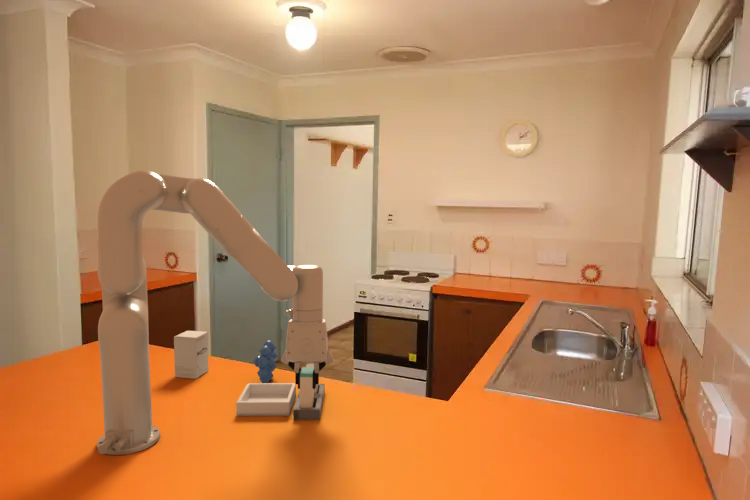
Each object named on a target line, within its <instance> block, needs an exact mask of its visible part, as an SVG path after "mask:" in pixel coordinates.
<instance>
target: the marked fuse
mask: <svg viewBox="0 0 750 500" xmlns="http://www.w3.org/2000/svg"><path fill="white" fill-rule="evenodd" d="M313 370H314V367H306V366H305V367H304V366H303V367H302V368H301V373H300V389H299V390H300V408H312V407H313V403H314V389H313ZM313 408H314V407H313Z"/></svg>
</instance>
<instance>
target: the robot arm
mask: <svg viewBox="0 0 750 500" xmlns="http://www.w3.org/2000/svg"><path fill="white" fill-rule="evenodd" d="M97 211H98V213H97V255H98V256H97V259H98V260H97V261H98V262H97V263H98V264H97V265H98V266H97V278H98V281H99V284H100V286H101V298H102V299H101V300H102V312H101V314H100V316H99V319H98V324H97V337H98V338H97V341H98V346H99V358H100V359H99V360H100V372H101V373H100V376H101V388H102V389H101V390H102V406H103V410H102V411H103V424H104V425H103V426H104V427H103V428H104V429H103V430H104V434H102V435H101V436H100V437H99V438H98V439H97V442H96V448H97V452H98V453H99V454H100V455H111V456H113V455H114V456H118V455H120V456H122V455H129V454H134V453H137V452H140V451H144V450H146V449H148V448H150V447H152V446H154V445H155V444H156V443H157V442H158V441H159V440H160V438H161V430H160V429H159V428H158V427H157V426H154V425H153V416H152V415H153V414H152V413H153V411H152V410H153V409H152V408H153V407H152V389H151V387H152V386H151V370H150V369H151V368H150V367H151V365H150V364H151V363H150V344H149V342H150V341H149V340H150V339H149V338H150V337H149V302H148V300H149V299H148V279H147V278H148V275H147V273H148V271H147V263H146V260H145V258H144V252H143V250H144V249H143V219H144V217H145V215H146V213H147V212H148V211H162V212H168V213H170V212H171V213H180V214H189V215H191V216H192V218H194V220H196V222H197V223H198V224H199V225H200V226H201V227H202V228H203V230H204V231H206V232H207V234H208V235H209V236H210V237H211V238H212V240H214V241H215V242H216V243H217V245H218V246H219V247H220V248H221V249H222V250H223V251H224V252H225V253H226V254H227V255H228V256H229V257H231V258H232V259H233V260H234V261H236V262H237V263H238V264H239V265H240V266H241V267H242V268H243V269H244V270H245V271H246V272H247V273H248V274H249V275H250V277H252V279H254V280H255V282H256V283H257V284H258V285H259V287H260V289H261V290H262V291H263V292H264V293H265V294H266V295H268V297H270V298H271V299H272V300H274V301H277V302H287V301H289V300H291V309H286V310H285V316H288V317H290V318H291V319H289V320H288V324H287V330H286V337H285V338H286V340H285V341H286V343H285V350H284V353H283V355H281V358H280V362H281V363H283V364H285V365H287V366H288V367H289V368H291V370H293V372H294V374H295V378H294V379H295V381H294V383H295V384H296V385H297V389H298V390H300V373H301V370H302V368H301V363H313V364H314V370H313V389H315V388H316V384H320V383H319V381H320V380H319V379H320V372H321V370H323V368H325V367H326V366H327V365H328V366H329V364H332V363H333V362H334V357H333V354H332V353H331V352H330V349H329V343H328V341H329V339H328V330H327V329H328V328H327V323H326V319H324V318H323V317H324V316H323V315H324V313H323V310H324V308H323V306H324V304H323V303H324V302H323V301H324V298H323V297H324V271H323V268H322V267H321V266H319V265H316V264H299V265H288V264H287V263H286V262H285V261H284V260H283V259H282V258H281V257H280V256H279V254H278V253H277V252H276V251H275V250H274V249H273V248H272V247H271V245H270V244H269V243H268V242H267V241H266V240H265V239H264V238H263V236H261V235H260V233H259V232H258V230H256V228H255V227H254V226H253V225H252V224H251V223H250V221H248V220H247V218H246V217H245V216H244V215H243V214H242V213H241V211H240V210H239V209H238V208H237V207H236V206H235V205H234V203H233V202H232V201H231V200H230V199H229V197H227V196H226V195H225V193H224V192H223V191H222V189H221V188H220V187H219V186H218V185H217V184H215V183H214V182H213V181H212V180H210V179H208V178H201V177H199V178H193V177H192V178H190V177H182V176H175V175H168V174H162V173H156V172H155V171H152V170H148V169H140V170H136V171H132V172H130V173H128V174H126V175H124V176H123V177H120V178H119V179H117V180H116V181H115V182H113V183H112V184H111V185H110V186H109V187H108V188H107V190H106V191H105V193H104V195H103V196H102V198H101V200H100V203H99V206H98V210H97Z"/></svg>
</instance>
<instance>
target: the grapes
mask: <svg viewBox="0 0 750 500" xmlns="http://www.w3.org/2000/svg"><path fill="white" fill-rule="evenodd" d="M276 349H277V346H276V344H275V343H274V342H273V341H271V340H270V339H268V340H266V341H265V342H264V343H263V345H262V347H261V349H259V353H260V355H257V356H256V357H255V358H254V359H253V360H252V362H253V364H254V365H255V367H256V368H258V371H257V372H256V373H257V375H258V377H259V381H260V383H269V382H270V381H271V380H272V379H273V378H274V374H273V372H274V371H275V369H276V368H277V365H276V364H275V363H276V359H277V358H278V355H277V352H276V351H275V350H276Z"/></svg>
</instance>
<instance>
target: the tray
mask: <svg viewBox="0 0 750 500" xmlns="http://www.w3.org/2000/svg"><path fill="white" fill-rule="evenodd" d="M296 387H297V384H295V382H277V383H276V382H267V383H262V382H260V383H259V382H253V383H252V382H250V383H249V382H248V383H247V384H246V385H245V388H244V389H243V390H242V392H241V394H240V396H239V398H238V399H237V401H236V403H235V405H236V407H235V408H236V417H282V416H283V417H290V415H291V413H292V409H293V406H294V404H295V403H294V402H295V401H296V398H297V397H296V396H297V388H296Z"/></svg>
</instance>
